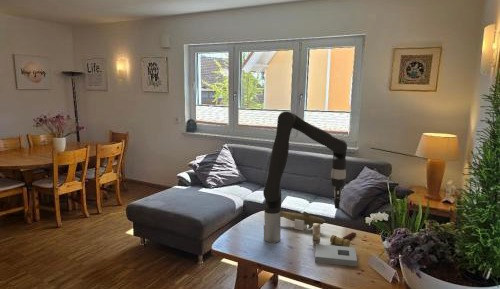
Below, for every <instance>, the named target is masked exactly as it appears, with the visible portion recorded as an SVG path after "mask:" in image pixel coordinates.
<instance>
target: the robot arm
mask: <svg viewBox="0 0 500 289" xmlns="http://www.w3.org/2000/svg"><path fill="white" fill-rule="evenodd" d="M276 124H277V126H276V132H275V133H276V134H275V138H274V142H273V145H272V148H271V149H272V150H271V154H270V157H269V158H270V159H269V165H268V175H267V178H266V182H265V185H264V189H263V192H262V194H263V197H264V199H265V201H264V203H265V204H264V207H263V208H264V210H263V211H264V216H263V217H264V222H263V223H264V224H263V242H267V243H271V244H272V243H279V242H280V241H281V237H282V236H281V217H280V210H281V209H282V208H281V207H282V188H281V180H282V177H283V174H284V172H285V168H286V166H287V162H288V157H289V150H290V136H291V133H292V129H294V130H296V131H297V132H301V133H302V134H303V135H305V136H306V137H308V138H309V139H311V140H313V141H314V142H316V143H318V144H320V145H322V146H324V147H326V148H328V149H329V150H330V151H331V152H332V153H333V154H332V156H333V157H332V162H331V163H332V164H331V173H330V185H331V186H333V194H334V195H333V197H334V201H333V202H334V208H335V209H340V202H341V198H342V188H343V187H345V185H346V177H347V176H346V175H347V171H346V169H347V168H346V166H347V159H346V157H347V149H348V145H347V142H346V141H345V140H344V139H342V138H341V139H340V138H337V137H335V136H333V135H332V134H330V133H329V132H327V131H325V130H324V129H322V128H319V127H317V126H315V125H312V124H311V123H309V122H308V121H305V120H304V119H302V118H301V117H299V116H298V115H297V114H295V113H294V112H293V111H291V110H284V111H281V113H279V115H278V117H277V123H276Z"/></svg>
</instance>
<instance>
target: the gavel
mask: <svg viewBox="0 0 500 289" xmlns="http://www.w3.org/2000/svg"><path fill="white" fill-rule="evenodd" d="M356 235H357V232H350V233H348V234H347V235H345V236H343V237H339V236H337V235H335V234H333V235H331V236H330V238H329V241H330V244H332V245H333V244H335V245H336V246H344V247H351V245H350V244H351V240H350V239H352V238H355V237H356Z"/></svg>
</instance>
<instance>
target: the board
mask: <svg viewBox="0 0 500 289" xmlns="http://www.w3.org/2000/svg"><path fill="white" fill-rule="evenodd" d="M355 247H356V246H355ZM355 247H353V246H349V247H344V246H340V245H333V244H332V245H329V244H322V243H320V244H316V246H315V255H314V263H319V264H321V263H322V264H328V265H330V264H331V265H338V266H347V265H348V266H349V267H358V258H357V254H356V248H355Z"/></svg>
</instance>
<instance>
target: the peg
mask: <svg viewBox="0 0 500 289" xmlns="http://www.w3.org/2000/svg"><path fill="white" fill-rule="evenodd" d="M311 240H312V243H313V244H312V245H313V246H314V247H316V244H321V224H319V223H314V224H313V227H312V238H311Z"/></svg>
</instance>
